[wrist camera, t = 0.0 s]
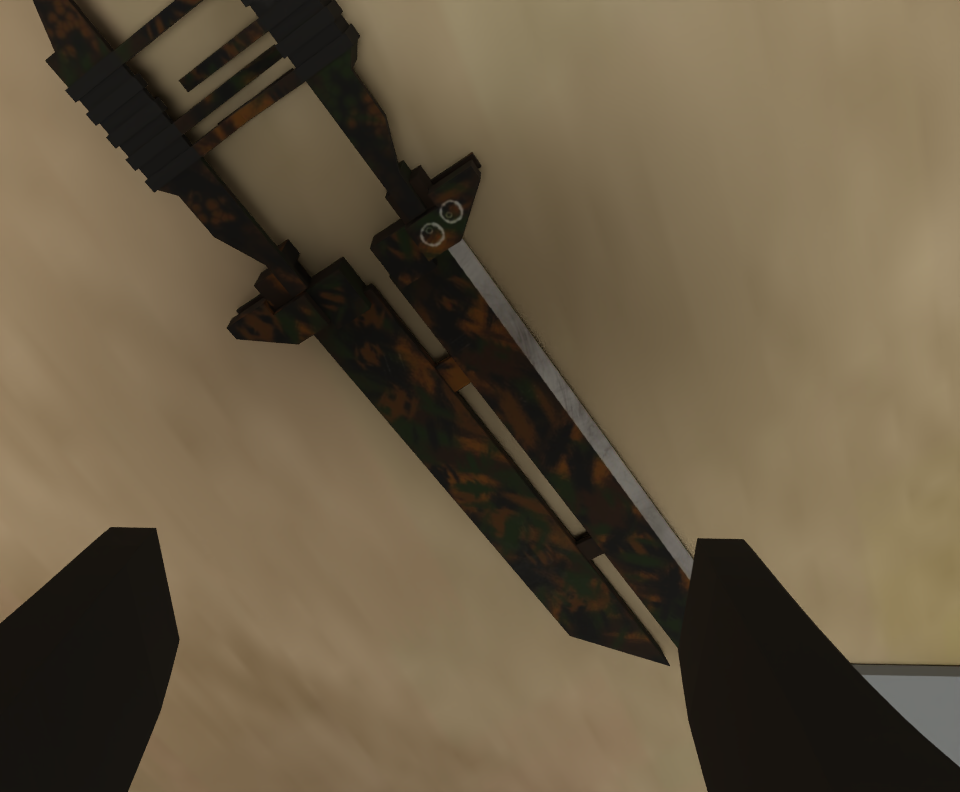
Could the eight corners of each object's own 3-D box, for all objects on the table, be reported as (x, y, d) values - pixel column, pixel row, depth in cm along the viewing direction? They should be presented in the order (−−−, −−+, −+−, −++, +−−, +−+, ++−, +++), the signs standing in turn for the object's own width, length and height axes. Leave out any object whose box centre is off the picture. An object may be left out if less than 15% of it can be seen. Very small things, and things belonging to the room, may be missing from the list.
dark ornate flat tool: (746, 639, 27) (759, 676, 26) (546, 710, 29) (549, 749, 28) (213, -326, 16) (190, -341, 15) (-69, -113, 18) (-111, -110, 16)
